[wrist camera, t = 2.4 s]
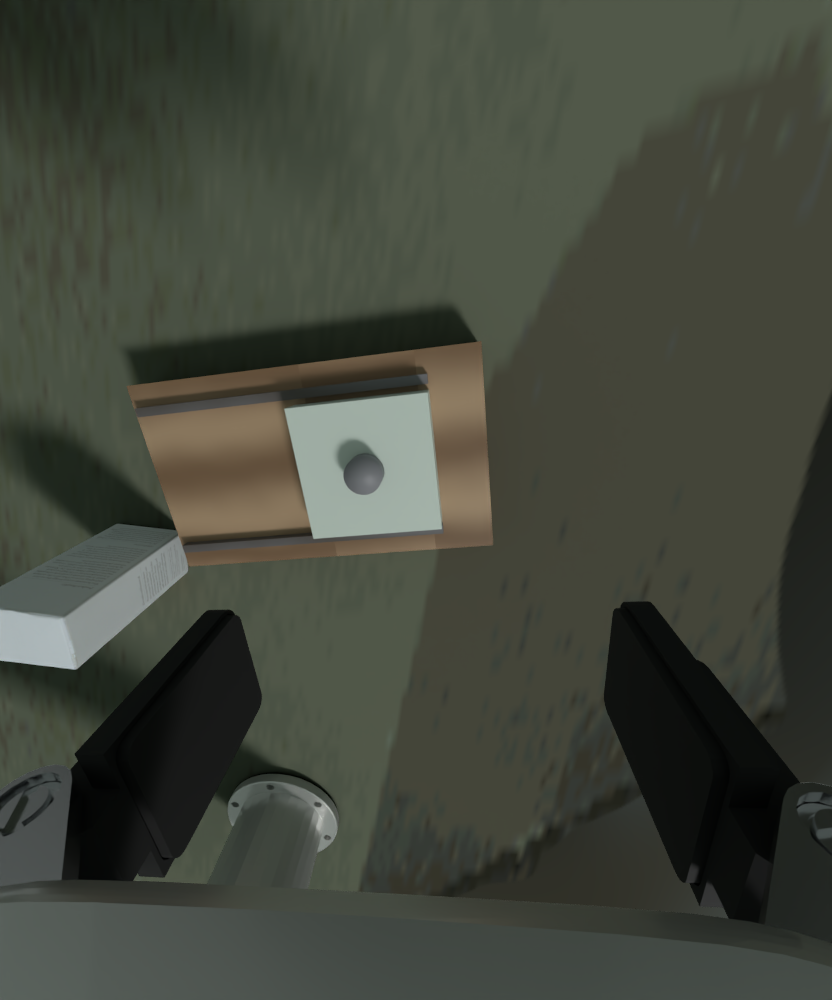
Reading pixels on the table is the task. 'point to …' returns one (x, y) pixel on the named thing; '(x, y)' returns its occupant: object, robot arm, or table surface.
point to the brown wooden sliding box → (271, 461)
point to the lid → (367, 464)
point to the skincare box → (87, 595)
